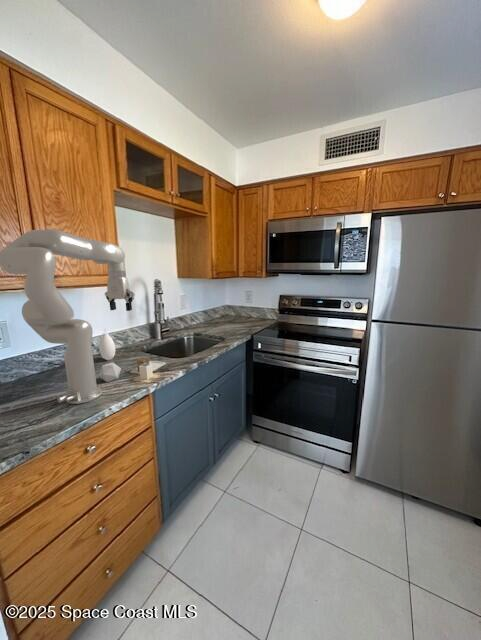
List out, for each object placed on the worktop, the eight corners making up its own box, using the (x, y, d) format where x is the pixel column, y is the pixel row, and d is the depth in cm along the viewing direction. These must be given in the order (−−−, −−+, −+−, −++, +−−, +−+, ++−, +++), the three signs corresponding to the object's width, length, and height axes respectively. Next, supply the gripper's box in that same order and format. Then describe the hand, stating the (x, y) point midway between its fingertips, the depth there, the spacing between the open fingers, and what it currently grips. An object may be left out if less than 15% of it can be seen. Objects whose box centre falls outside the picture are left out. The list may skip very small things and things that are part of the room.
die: (121, 383, 120) (125, 362, 124) (102, 379, 114) (107, 358, 118) (112, 385, 125) (117, 365, 129) (93, 382, 119) (99, 361, 123)
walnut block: (144, 372, 129) (143, 360, 128) (137, 371, 130) (136, 359, 129) (149, 369, 133) (148, 358, 132) (143, 368, 134) (142, 357, 133)
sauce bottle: (118, 359, 150) (115, 328, 147) (104, 363, 144) (100, 331, 141) (112, 356, 155) (109, 326, 152) (98, 360, 149) (94, 329, 146)
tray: (147, 375, 126) (147, 373, 126) (130, 373, 130) (130, 371, 129) (166, 364, 141) (166, 362, 141) (150, 362, 144) (150, 360, 144)
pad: (148, 383, 117) (148, 382, 117) (132, 381, 120) (131, 380, 120) (160, 375, 126) (160, 374, 126) (144, 373, 129) (144, 372, 128)
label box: (147, 379, 120) (146, 366, 119) (140, 378, 122) (138, 365, 120) (153, 376, 124) (151, 363, 123) (145, 375, 125) (144, 362, 124)
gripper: (96, 275, 126) (101, 310, 129) (126, 275, 121) (130, 312, 124) (109, 274, 133) (113, 308, 136) (137, 274, 128) (140, 309, 131)
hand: (121, 310), depth 130 cm, fingers open, 9 cm apart
